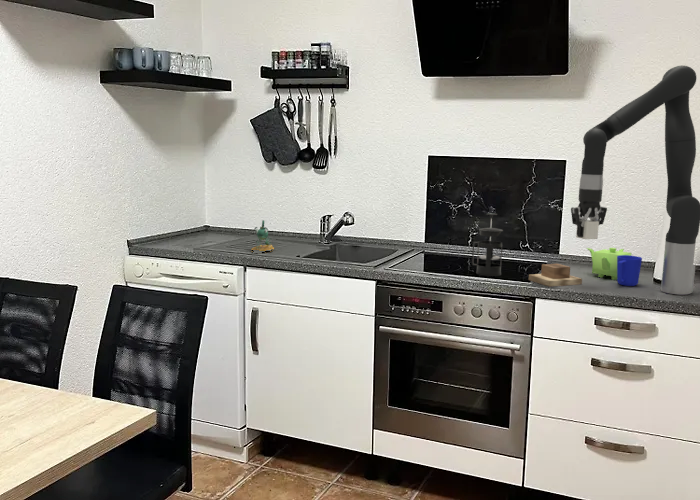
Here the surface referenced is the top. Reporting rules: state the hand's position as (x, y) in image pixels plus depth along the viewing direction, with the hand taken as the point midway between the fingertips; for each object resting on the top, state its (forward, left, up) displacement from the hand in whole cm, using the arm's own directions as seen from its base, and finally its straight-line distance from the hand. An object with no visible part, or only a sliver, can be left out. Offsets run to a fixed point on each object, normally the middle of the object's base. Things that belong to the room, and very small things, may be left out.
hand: (586, 236), depth 241 cm
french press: (+20, -30, -18) cm, 40 cm away
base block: (+5, -9, -16) cm, 19 cm away
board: (+5, -9, -18) cm, 21 cm away
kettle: (-22, -11, -18) cm, 31 cm away
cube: (0, 0, 0) cm, 0 cm away
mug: (-16, +3, -18) cm, 24 cm away
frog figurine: (+88, -103, -18) cm, 137 cm away
